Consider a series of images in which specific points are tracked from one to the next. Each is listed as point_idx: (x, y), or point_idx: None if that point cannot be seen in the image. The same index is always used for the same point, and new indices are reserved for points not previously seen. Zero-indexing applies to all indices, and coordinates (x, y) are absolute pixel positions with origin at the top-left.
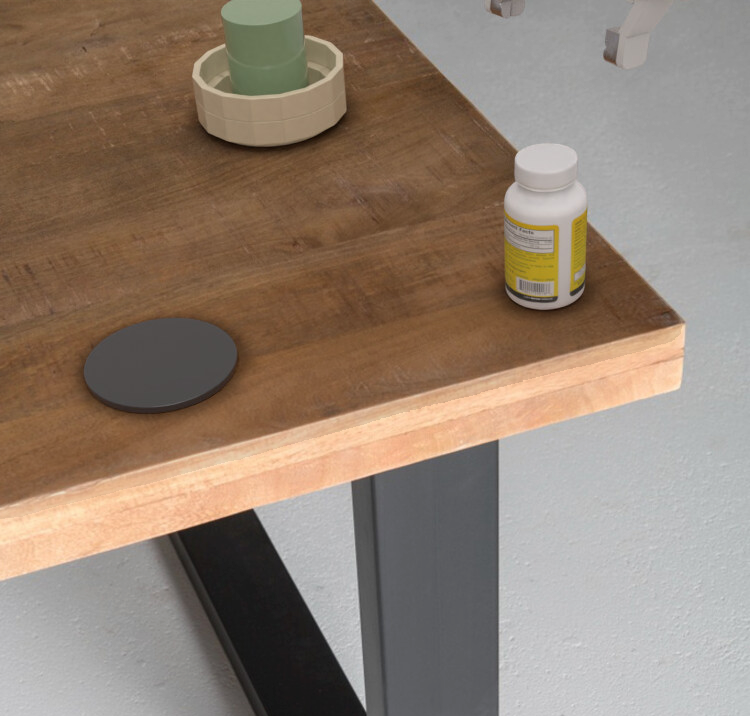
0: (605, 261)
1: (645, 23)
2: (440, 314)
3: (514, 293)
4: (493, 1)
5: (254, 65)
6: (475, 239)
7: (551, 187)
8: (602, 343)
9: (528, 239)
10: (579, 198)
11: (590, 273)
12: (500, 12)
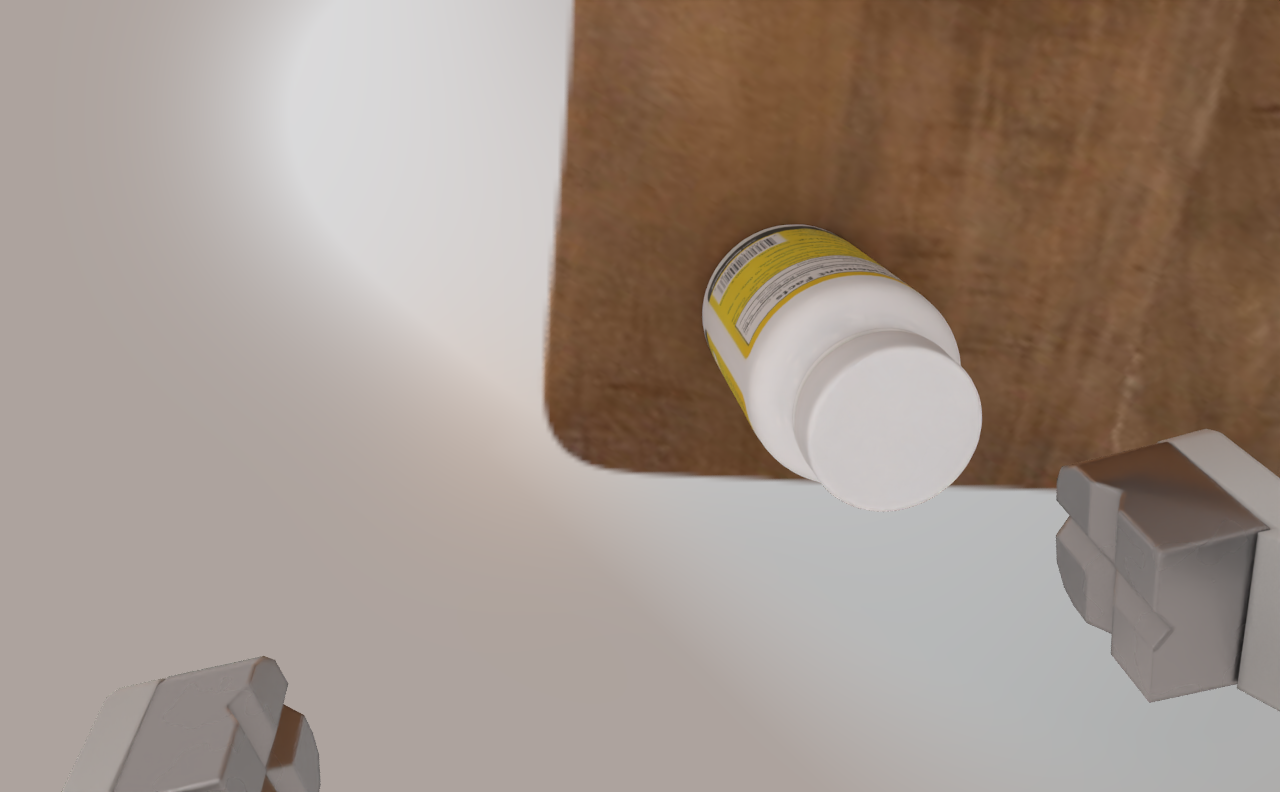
0: None
1: None
2: (839, 54)
3: (782, 229)
4: (1178, 475)
5: None
6: (1047, 275)
7: (803, 389)
8: (551, 313)
9: (781, 284)
10: (778, 446)
11: None
12: (1087, 467)
